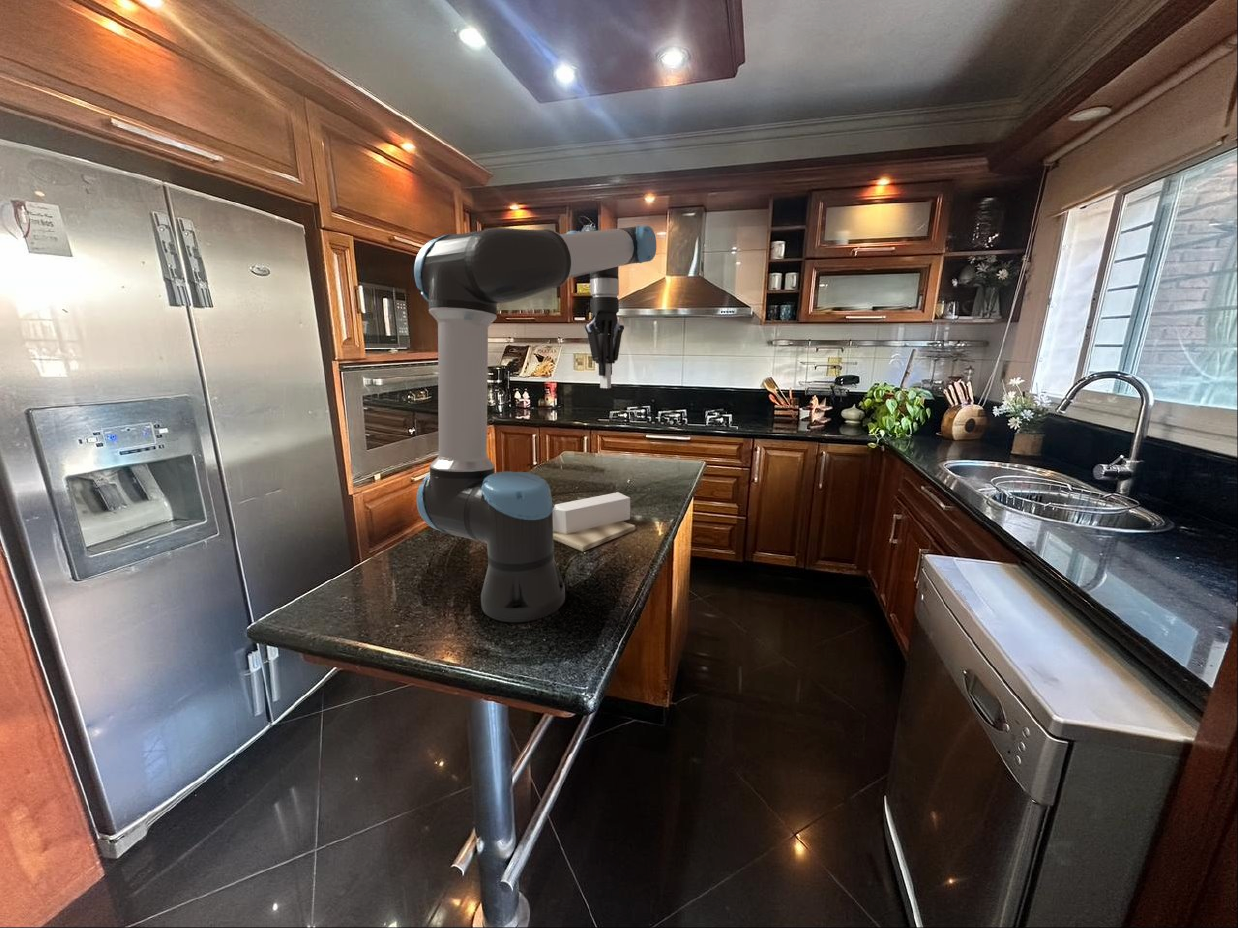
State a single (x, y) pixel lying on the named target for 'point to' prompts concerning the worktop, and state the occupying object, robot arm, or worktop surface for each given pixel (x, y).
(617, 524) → the board
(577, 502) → the white carton-shaped block
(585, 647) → the worktop surface
